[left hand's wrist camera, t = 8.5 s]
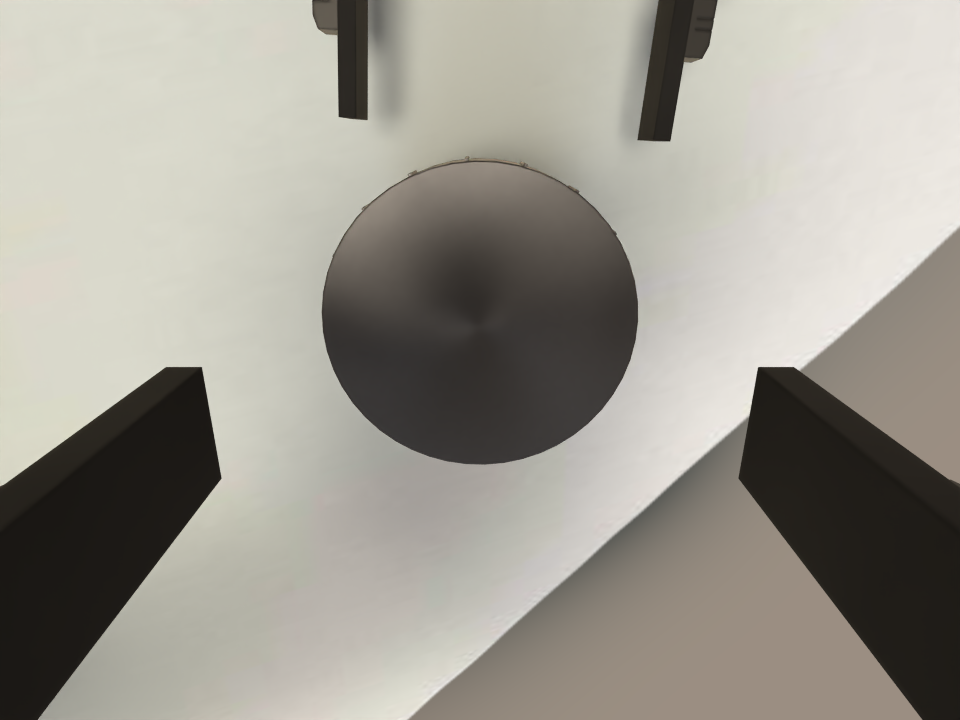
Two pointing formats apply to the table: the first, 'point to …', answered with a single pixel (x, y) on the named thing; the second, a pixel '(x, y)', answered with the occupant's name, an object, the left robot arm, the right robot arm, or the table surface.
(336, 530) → the table surface
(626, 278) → the lid
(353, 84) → the right robot arm
